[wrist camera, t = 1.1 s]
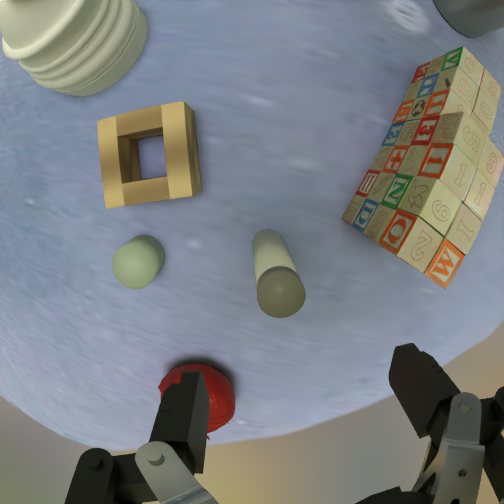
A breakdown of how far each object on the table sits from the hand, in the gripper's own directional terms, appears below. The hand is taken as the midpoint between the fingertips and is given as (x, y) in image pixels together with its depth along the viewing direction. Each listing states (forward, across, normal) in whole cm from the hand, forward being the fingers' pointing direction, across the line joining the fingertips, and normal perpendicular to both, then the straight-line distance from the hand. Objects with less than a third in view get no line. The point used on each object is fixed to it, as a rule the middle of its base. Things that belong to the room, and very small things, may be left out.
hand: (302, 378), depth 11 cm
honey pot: (+20, +17, -25) cm, 36 cm away
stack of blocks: (+20, -16, -9) cm, 27 cm away
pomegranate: (+20, +10, +18) cm, 28 cm away
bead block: (+19, +10, -10) cm, 24 cm away
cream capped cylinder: (+19, 0, 0) cm, 19 cm away
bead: (+20, +13, 0) cm, 23 cm away
